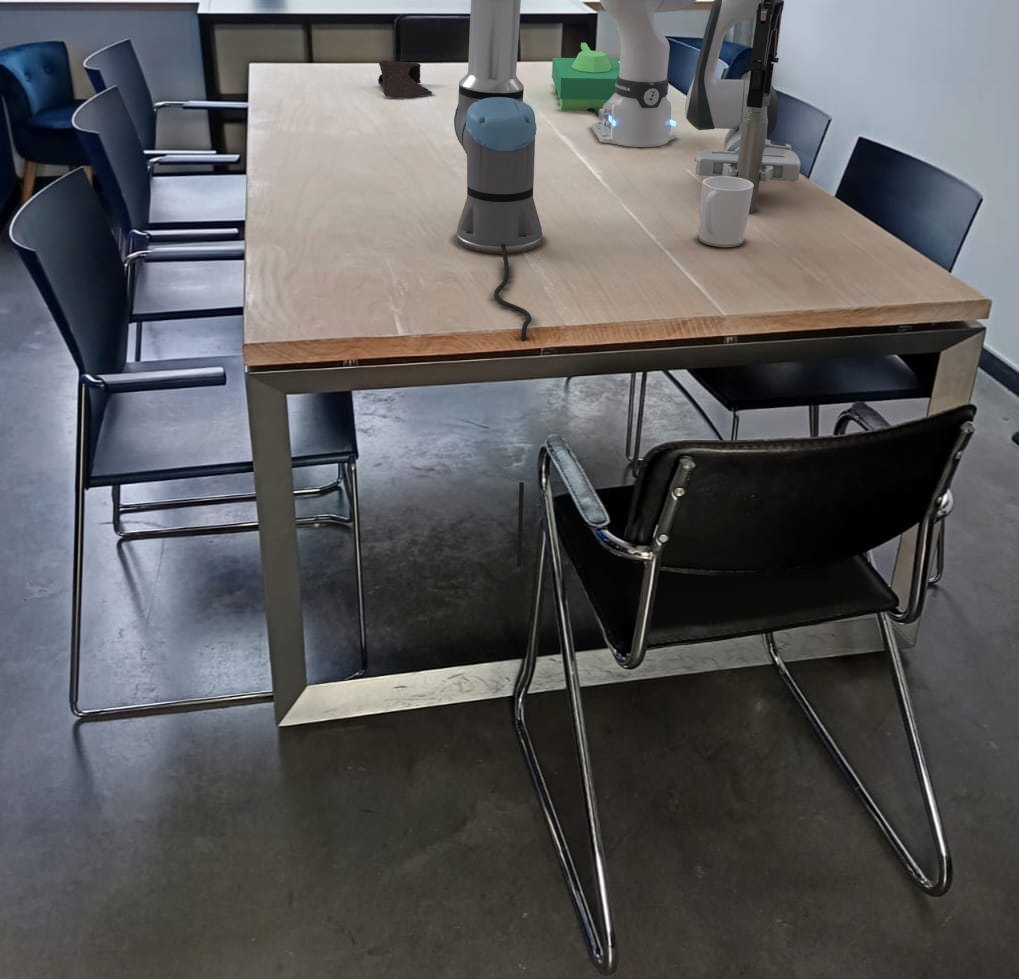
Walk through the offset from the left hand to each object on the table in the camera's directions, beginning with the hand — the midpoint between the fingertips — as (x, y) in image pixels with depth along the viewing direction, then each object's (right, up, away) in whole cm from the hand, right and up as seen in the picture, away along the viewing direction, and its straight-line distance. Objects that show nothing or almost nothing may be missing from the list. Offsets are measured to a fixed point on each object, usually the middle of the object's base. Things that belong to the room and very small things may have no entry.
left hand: (757, 102), depth 204 cm
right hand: (0, -12, +6) cm, 13 cm away
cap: (0, +1, -1) cm, 1 cm away
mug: (-9, -28, -7) cm, 30 cm away
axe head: (-76, +37, +96) cm, 128 cm away
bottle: (0, -17, +11) cm, 20 cm away
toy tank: (-25, +34, +93) cm, 102 cm away
